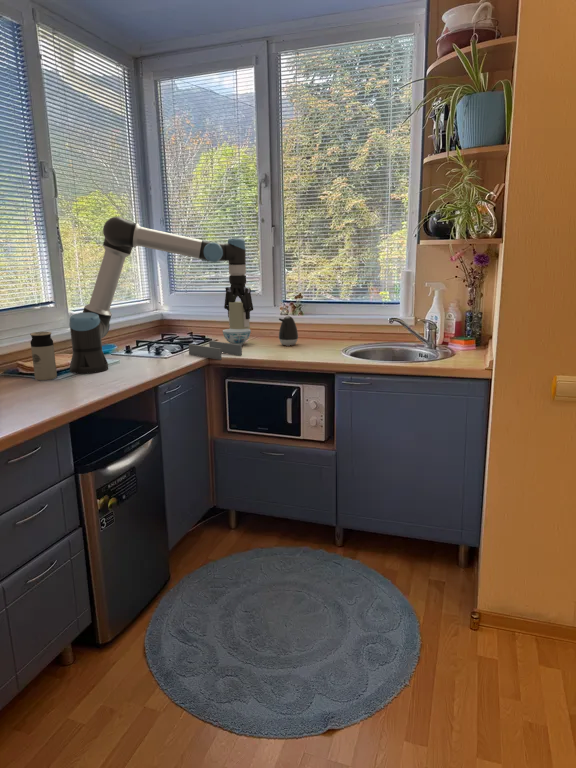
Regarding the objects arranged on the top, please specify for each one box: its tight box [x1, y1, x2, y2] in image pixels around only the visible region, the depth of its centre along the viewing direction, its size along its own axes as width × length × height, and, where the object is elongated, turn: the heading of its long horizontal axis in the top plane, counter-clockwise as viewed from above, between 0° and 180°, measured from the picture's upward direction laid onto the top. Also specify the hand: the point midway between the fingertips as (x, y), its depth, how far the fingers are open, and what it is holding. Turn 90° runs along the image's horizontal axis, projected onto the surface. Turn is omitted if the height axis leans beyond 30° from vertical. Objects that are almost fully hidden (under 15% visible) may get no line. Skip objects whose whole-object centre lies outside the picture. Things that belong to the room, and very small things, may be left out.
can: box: [229, 300, 251, 329], centre depth 241 cm, size 9×9×12 cm
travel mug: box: [30, 331, 58, 382], centre depth 209 cm, size 8×8×18 cm
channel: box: [188, 340, 243, 361], centre depth 256 cm, size 14×22×5 cm, turn 49°
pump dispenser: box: [278, 315, 299, 347], centre depth 281 cm, size 10×10×15 cm
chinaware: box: [222, 328, 252, 346], centre depth 285 cm, size 15×15×8 cm
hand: (239, 325), depth 242 cm, fingers closed on can, 9 cm apart
